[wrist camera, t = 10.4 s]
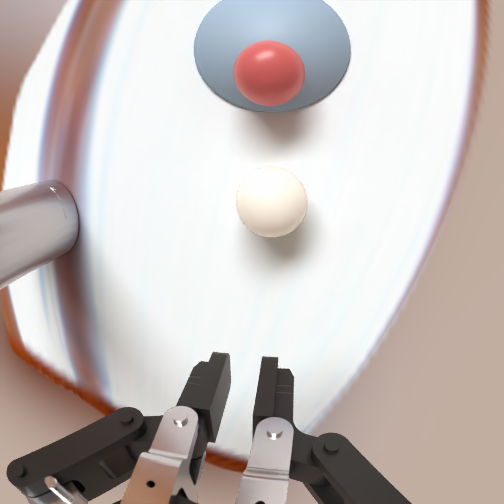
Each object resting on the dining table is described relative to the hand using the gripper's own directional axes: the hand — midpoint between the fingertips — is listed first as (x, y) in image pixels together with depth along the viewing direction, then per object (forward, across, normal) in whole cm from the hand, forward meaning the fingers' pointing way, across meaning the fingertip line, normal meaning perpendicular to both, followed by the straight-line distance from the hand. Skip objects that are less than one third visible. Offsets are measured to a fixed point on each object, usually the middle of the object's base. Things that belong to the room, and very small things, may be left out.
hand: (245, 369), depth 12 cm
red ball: (+12, 0, -16) cm, 20 cm away
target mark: (+15, 0, -20) cm, 25 cm away
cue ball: (+12, 0, -6) cm, 13 cm away
